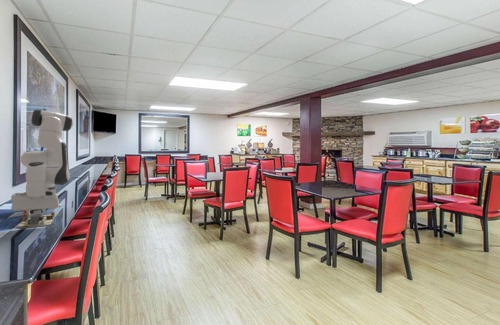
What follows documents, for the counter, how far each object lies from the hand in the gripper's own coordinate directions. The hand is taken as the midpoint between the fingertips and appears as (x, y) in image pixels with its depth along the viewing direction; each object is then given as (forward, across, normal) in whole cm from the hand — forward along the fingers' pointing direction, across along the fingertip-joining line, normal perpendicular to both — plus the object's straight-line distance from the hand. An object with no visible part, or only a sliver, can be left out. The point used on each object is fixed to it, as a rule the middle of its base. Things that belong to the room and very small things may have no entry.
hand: (36, 217), depth 150 cm
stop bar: (+2, 0, +1) cm, 2 cm away
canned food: (+4, -6, +27) cm, 28 cm away
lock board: (+4, 0, +6) cm, 8 cm away
